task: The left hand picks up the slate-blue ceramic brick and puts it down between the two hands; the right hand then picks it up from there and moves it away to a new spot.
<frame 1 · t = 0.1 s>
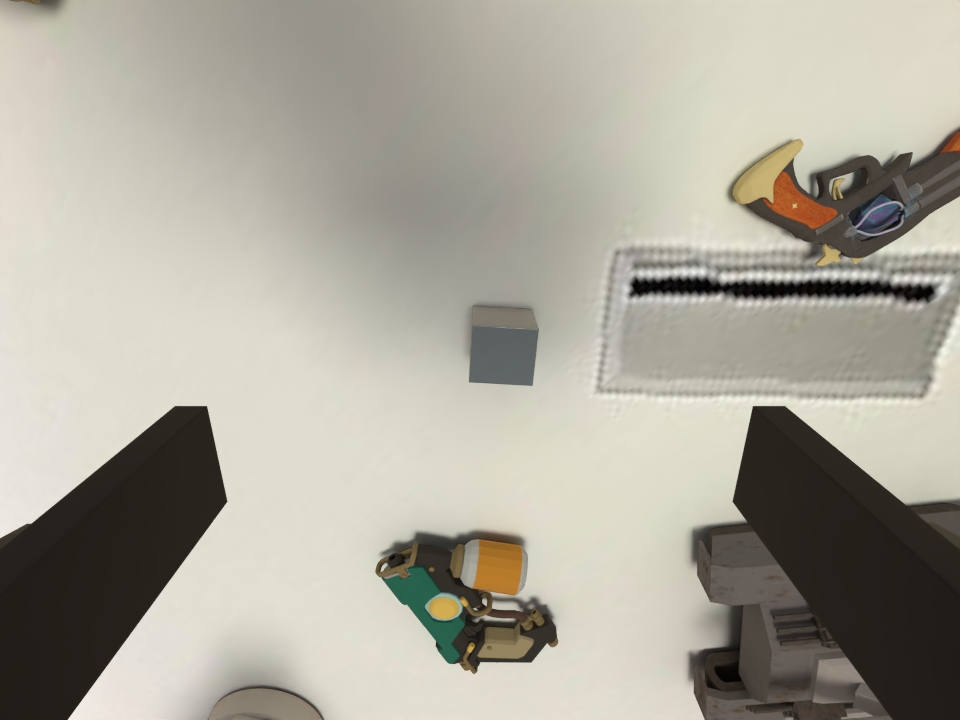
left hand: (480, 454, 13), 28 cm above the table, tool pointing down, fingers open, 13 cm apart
spray gun: (471, 591, 51), on the table
toy gun: (873, 167, 37), on the table
brick: (500, 333, 41), on the table
bust sculpture: (260, 701, 56), on the table
toy: (818, 594, 51), on the table
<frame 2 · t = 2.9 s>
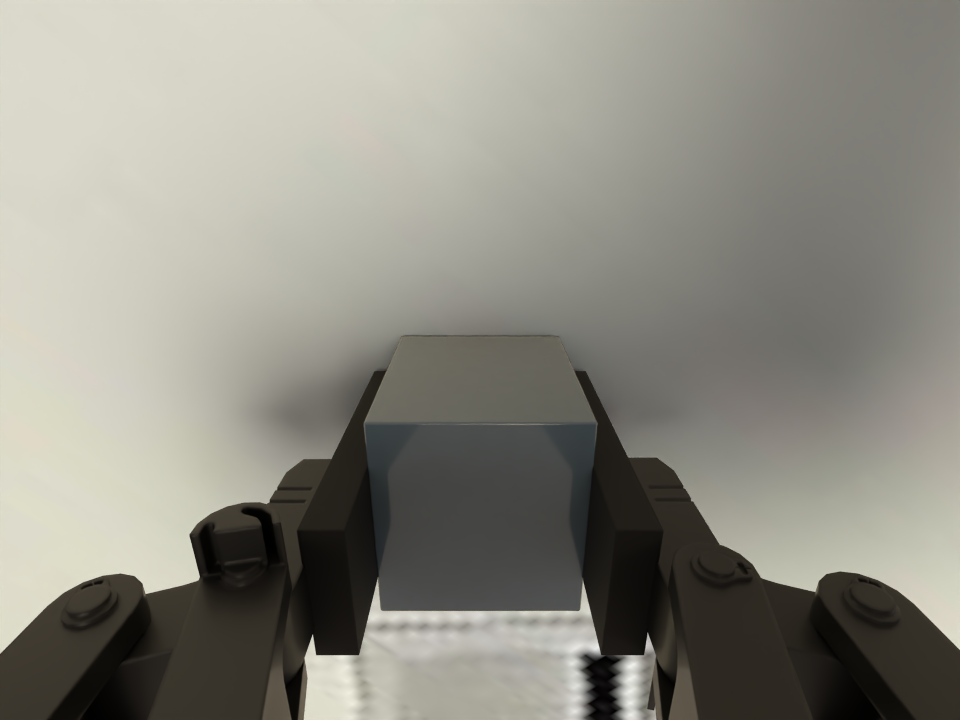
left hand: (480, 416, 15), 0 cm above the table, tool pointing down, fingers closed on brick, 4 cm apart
brick: (480, 411, 15), on the table, touching left hand
when the left hand's fingers open (1 cm above the table, at t = 12.9 s): brick stays where it is, on the table.
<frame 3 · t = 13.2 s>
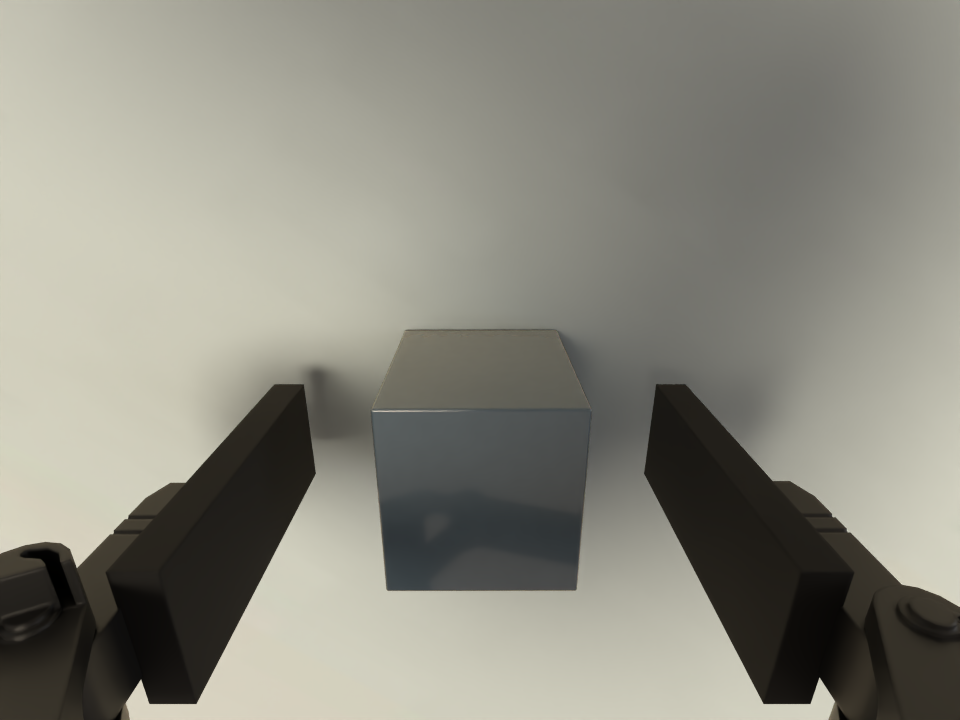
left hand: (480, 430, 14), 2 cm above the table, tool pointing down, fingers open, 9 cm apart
brick: (481, 402, 15), on the table
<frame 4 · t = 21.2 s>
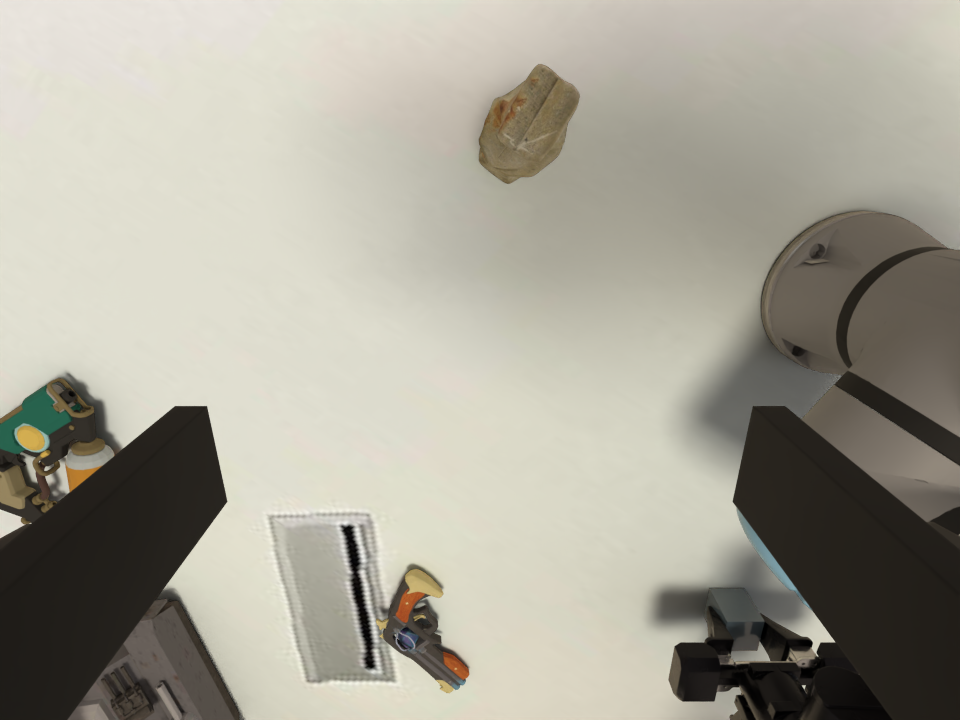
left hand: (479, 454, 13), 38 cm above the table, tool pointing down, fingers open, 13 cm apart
spray gun: (52, 446, 56), on the table
toy gun: (433, 625, 66), on the table
sculpture: (515, 136, 45), on the table
brick: (723, 602, 65), on the table, touching right hand
toy: (143, 669, 69), on the table
when the right hand's fingers open (2 cm above the table, at t = 29.5 s): brick stays where it is, on the table.
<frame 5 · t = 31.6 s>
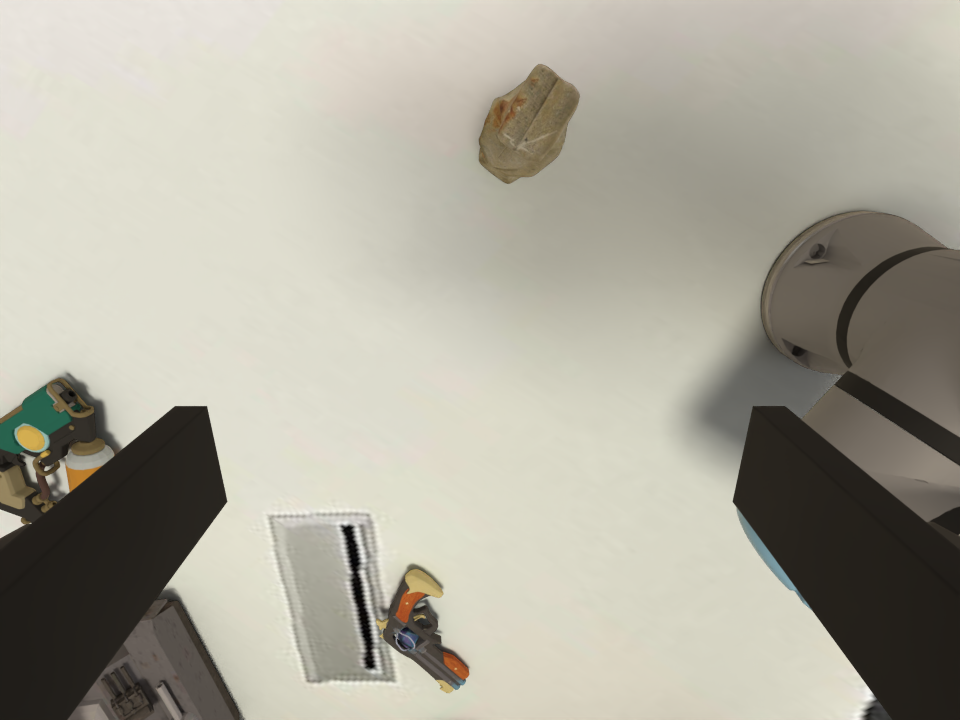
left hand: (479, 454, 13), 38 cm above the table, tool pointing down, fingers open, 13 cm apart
spray gun: (52, 446, 56), on the table
toy gun: (433, 625, 66), on the table
sculpture: (515, 136, 45), on the table
toy: (143, 669, 69), on the table
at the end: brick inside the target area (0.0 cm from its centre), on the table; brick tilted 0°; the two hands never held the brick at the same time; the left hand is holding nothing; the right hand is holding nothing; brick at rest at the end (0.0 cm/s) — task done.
